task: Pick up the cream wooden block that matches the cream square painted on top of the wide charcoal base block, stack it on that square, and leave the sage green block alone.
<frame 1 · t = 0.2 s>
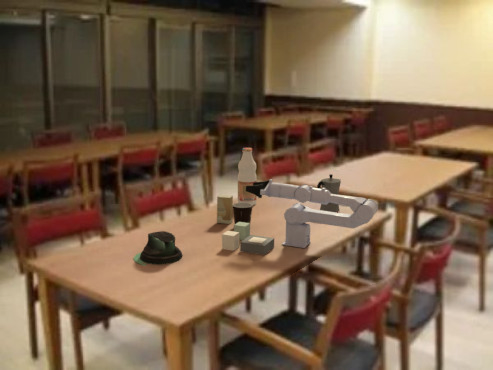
hand: (249, 186, 236), 22 cm above the table, tool horizontal, fingers open, 7 cm apart
fruit juice: (247, 204, 294), on the table
charcoal base block: (257, 249, 227), on the table
dark fedora hat: (161, 258, 218), on the table
cream block: (230, 248, 228), on the table
skincare box: (224, 222, 262), on the table
coffeepot: (328, 211, 280), on the table
sage green block: (242, 238, 240), on the table
coffee mug: (240, 228, 253), on the table
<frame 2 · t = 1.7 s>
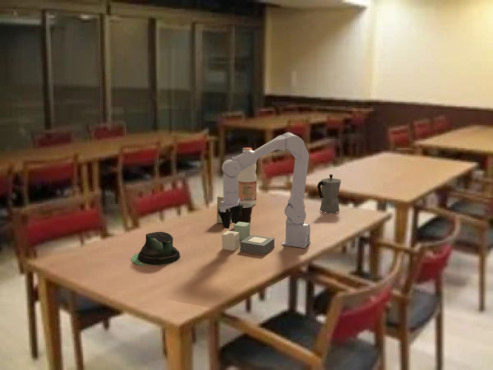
hand: (230, 225, 226), 9 cm above the table, tool pointing down, fingers open, 7 cm apart
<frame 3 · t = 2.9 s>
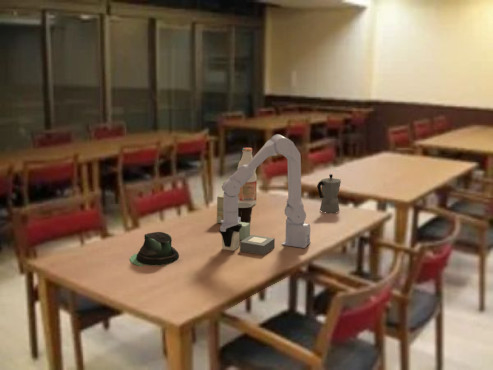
hand: (230, 244, 228), 1 cm above the table, tool pointing down, fingers closed on cream block, 5 cm apart
cream block: (230, 247, 228), on the table, touching gripper
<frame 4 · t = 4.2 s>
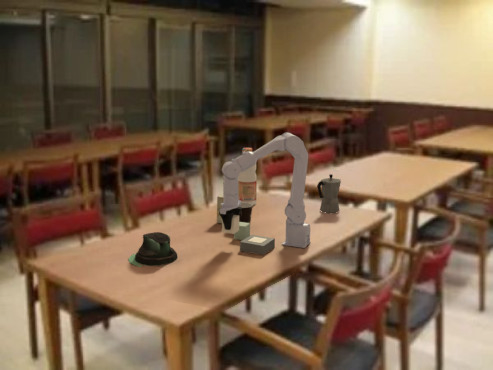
hand: (230, 227, 226), 8 cm above the table, tool pointing down, fingers closed on cream block, 5 cm apart
cream block: (230, 231, 227), point 7 cm above the table, touching gripper
when the fingers open (7 cm above the table, at t = 5.9 s): cream block drops 1 cm, resting on charcoal base block.
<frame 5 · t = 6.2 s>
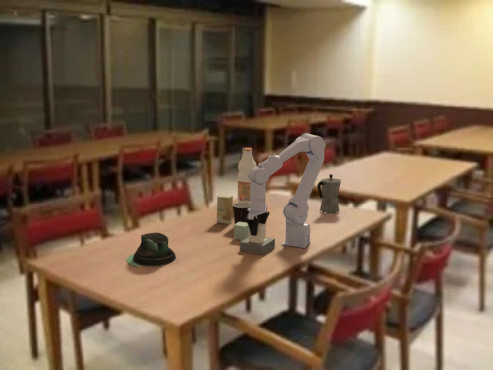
hand: (257, 232, 226), 7 cm above the table, tool pointing down, fingers open, 7 cm apart
charcoal base block: (257, 250, 227), on the table, touching cream block
cream block: (257, 240, 226), point 4 cm above the table, touching charcoal base block
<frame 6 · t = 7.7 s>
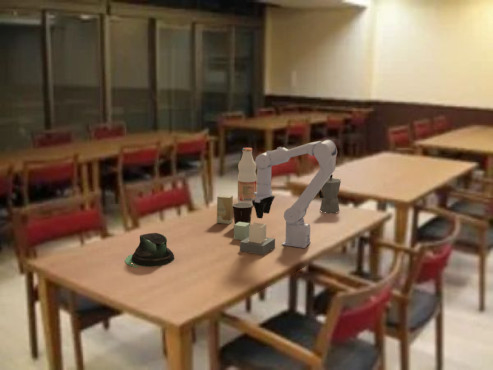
hand: (263, 215, 237), 10 cm above the table, tool pointing down, fingers open, 7 cm apart
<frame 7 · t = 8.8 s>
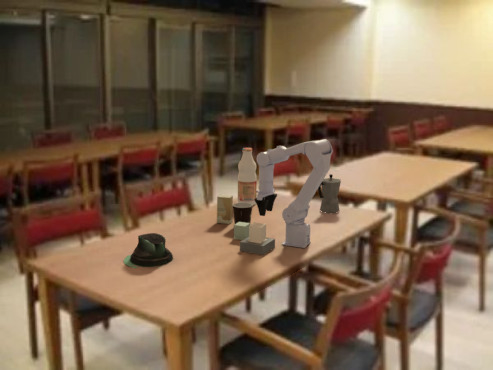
hand: (265, 213, 240), 10 cm above the table, tool pointing down, fingers open, 7 cm apart
charcoal base block: (257, 250, 227), on the table
cream block: (257, 239, 226), point 4 cm above the table
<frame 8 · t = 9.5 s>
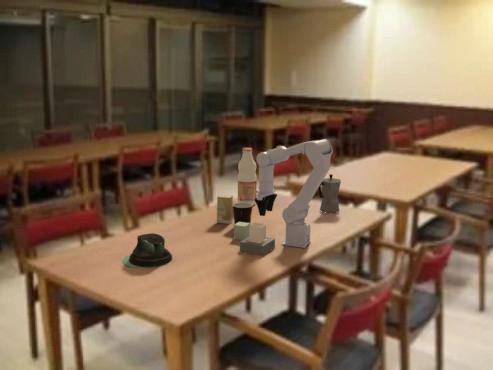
hand: (265, 213, 240), 10 cm above the table, tool pointing down, fingers open, 7 cm apart
charcoal base block: (257, 250, 227), on the table, touching cream block
cream block: (257, 240, 226), point 4 cm above the table, touching charcoal base block
at the end: cream block 0.1 cm off-centre on the charcoal base block, point 4.1 cm above the charcoal base block's base; cream block tilted 0°; the gripper is holding nothing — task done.
